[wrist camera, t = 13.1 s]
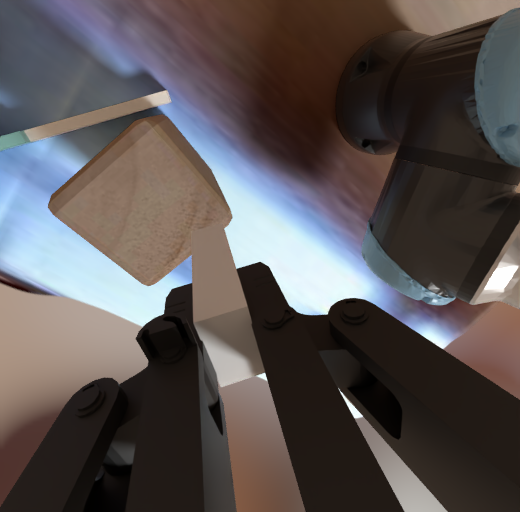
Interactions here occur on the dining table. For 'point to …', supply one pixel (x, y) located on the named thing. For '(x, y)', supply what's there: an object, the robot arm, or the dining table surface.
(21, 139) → the walled lane
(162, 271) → the wooden block
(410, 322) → the dining table surface
